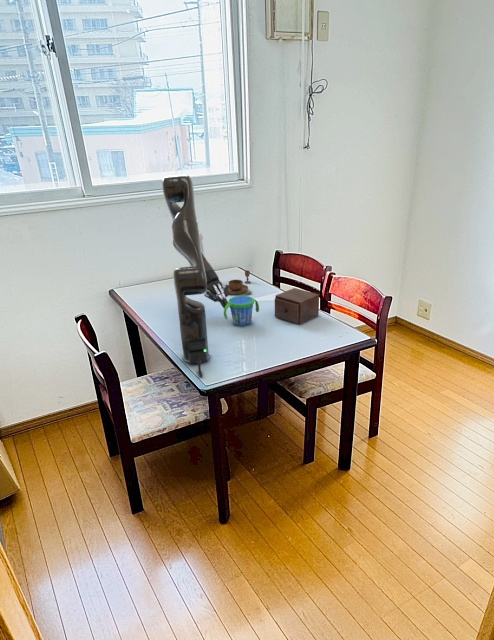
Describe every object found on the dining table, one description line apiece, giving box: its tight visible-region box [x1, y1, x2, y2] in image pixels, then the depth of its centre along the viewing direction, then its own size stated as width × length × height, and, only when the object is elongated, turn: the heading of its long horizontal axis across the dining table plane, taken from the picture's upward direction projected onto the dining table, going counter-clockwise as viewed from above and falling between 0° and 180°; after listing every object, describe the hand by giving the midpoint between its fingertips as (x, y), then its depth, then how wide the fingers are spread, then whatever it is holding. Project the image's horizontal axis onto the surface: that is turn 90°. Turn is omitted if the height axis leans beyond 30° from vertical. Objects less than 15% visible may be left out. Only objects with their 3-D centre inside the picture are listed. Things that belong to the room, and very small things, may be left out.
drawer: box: [274, 298, 299, 324], centre depth 210 cm, size 13×12×8 cm
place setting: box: [227, 270, 252, 296], centre depth 244 cm, size 18×20×6 cm
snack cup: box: [223, 295, 260, 327], centre depth 206 cm, size 16×10×10 cm
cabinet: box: [274, 287, 320, 325], centre depth 211 cm, size 13×14×10 cm
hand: (227, 307), depth 211 cm, fingers closed
